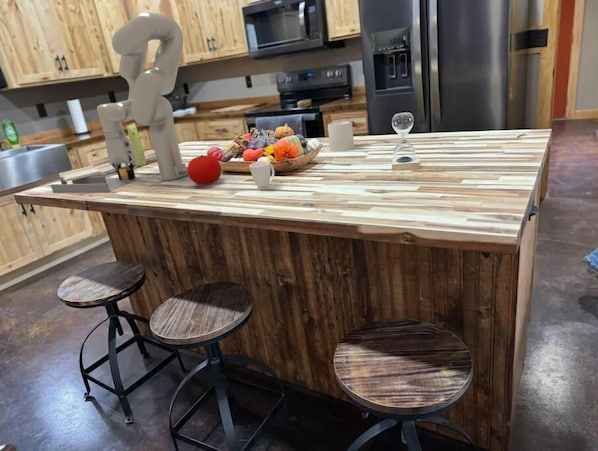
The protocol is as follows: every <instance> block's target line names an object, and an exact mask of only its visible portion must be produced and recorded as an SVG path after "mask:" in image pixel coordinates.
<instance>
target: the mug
mask: <svg viewBox="0 0 598 451" xmlns="http://www.w3.org/2000/svg"><path fill="white" fill-rule="evenodd" d="M327 131H328V140H329V141H328V142H329V150H330V151H332V152H345V151H350V150H352V149H354V148H355V142H354V131H353V121H351V120H344V121H343V120H342V121H335V122H331V123H328V124H327Z"/></svg>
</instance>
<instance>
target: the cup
mask: <svg viewBox="0 0 598 451" xmlns="http://www.w3.org/2000/svg"><path fill="white" fill-rule="evenodd" d="M248 167H249V170H250V174H251V177H252V180H253V182H254V184H255V186H256V189H257V190H259V191H260V190H261V189H263V190H267V189H269V188H270V187H271V184H272V182H273V179H274V177H275V168H274V165H273V164H272V163H271V161H267V160H265V161H263V160H262V161H257V162H253V163H251V164H250V165H249V166H248Z"/></svg>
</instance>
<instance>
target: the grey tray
mask: <svg viewBox="0 0 598 451" xmlns="http://www.w3.org/2000/svg"><path fill="white" fill-rule="evenodd" d="M123 179H124V181H122V180H119V177H106V176H88V177H84V178H80V179H76V180H72V181H71V183H67V184H61V183H56V184H55V183H53V184H50V187H51V189H52V193H53V194H54V193H56V194H57V193H59V194H61V193H62V194H63V193H65V194H66V193H68V194H69V193H78V194H79V193H110V192H112V191H114V190H117V189H119V188H122V187H124V186H126V185H128V184H132V183H133V182H135V181H136V182H137V181H138V180H140V179H143V177H141V176H140V177H137V176H135V178H134V179H131V180H127V177H126V176H123Z"/></svg>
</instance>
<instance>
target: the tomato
mask: <svg viewBox="0 0 598 451" xmlns="http://www.w3.org/2000/svg"><path fill="white" fill-rule="evenodd" d="M187 167H188V175H187V176H188V177H189V179H190V180H191V181H192V182H193V183H195V184H197V185H211V184H214V183H216V182H217V181H219V179H220V177H221V175H222V166H221V164H220V161H219V160H218V158H217V157H215V156H213V155H209V154H207V155H203V154H200V156H197V157H194V158H193V159H191V160H190V161H189V162H188V165H187Z"/></svg>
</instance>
